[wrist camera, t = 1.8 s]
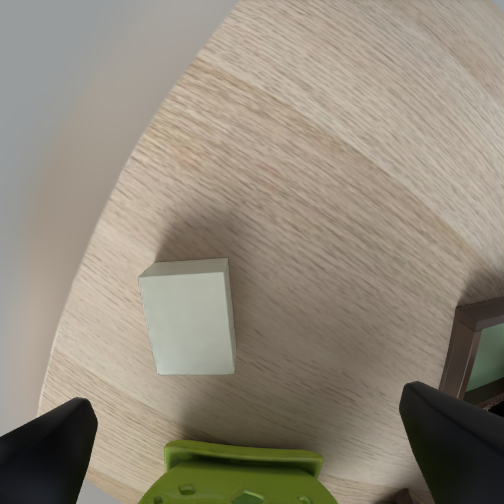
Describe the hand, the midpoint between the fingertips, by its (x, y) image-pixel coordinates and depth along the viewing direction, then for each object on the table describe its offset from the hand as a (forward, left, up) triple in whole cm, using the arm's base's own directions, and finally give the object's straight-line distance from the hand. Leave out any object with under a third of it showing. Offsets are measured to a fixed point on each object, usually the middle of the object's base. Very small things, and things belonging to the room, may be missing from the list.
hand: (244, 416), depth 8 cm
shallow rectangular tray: (-8, -24, -12) cm, 28 cm away
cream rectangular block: (-1, +3, -12) cm, 12 cm away
